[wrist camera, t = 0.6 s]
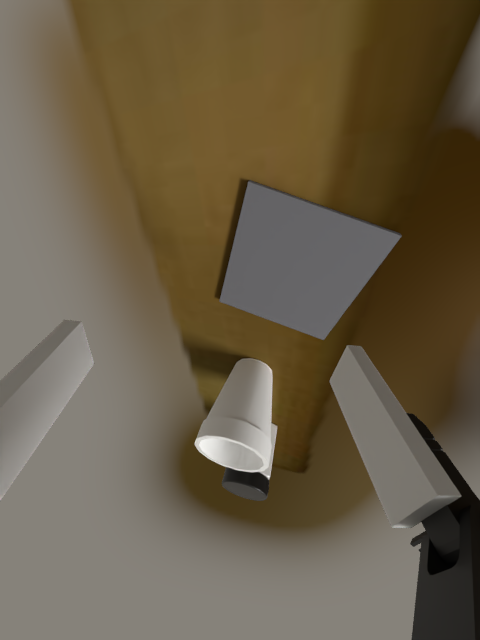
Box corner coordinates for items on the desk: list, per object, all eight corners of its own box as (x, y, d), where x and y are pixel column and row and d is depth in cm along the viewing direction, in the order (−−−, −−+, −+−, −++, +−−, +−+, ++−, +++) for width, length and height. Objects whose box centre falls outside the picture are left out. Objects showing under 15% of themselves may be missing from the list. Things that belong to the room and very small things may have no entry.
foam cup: (225, 380, 42) (196, 457, 33) (225, 345, 36) (191, 427, 27) (277, 394, 41) (264, 478, 31) (287, 360, 35) (274, 452, 25)
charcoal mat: (249, 180, 21) (248, 181, 21) (399, 233, 21) (401, 235, 20) (220, 298, 31) (219, 301, 30) (323, 336, 30) (323, 340, 30)
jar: (247, 435, 54) (233, 496, 45) (230, 415, 50) (211, 478, 41) (284, 436, 50) (276, 504, 41) (269, 414, 46) (257, 485, 37)
